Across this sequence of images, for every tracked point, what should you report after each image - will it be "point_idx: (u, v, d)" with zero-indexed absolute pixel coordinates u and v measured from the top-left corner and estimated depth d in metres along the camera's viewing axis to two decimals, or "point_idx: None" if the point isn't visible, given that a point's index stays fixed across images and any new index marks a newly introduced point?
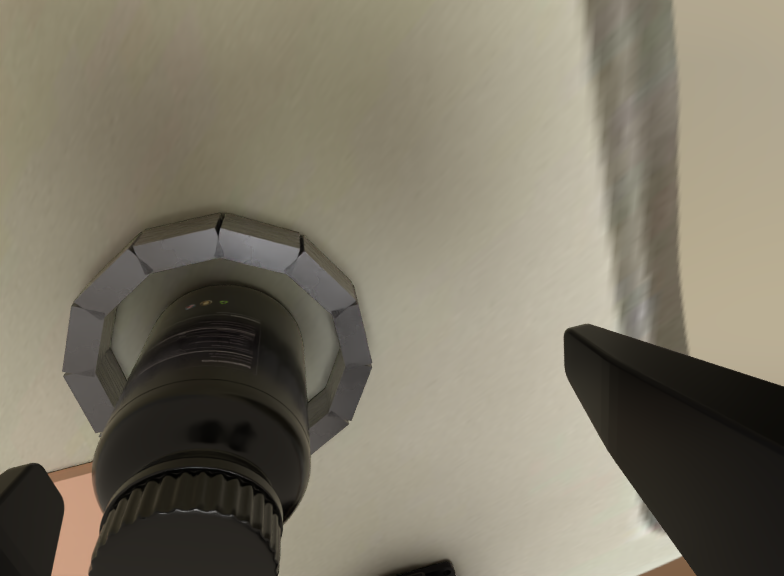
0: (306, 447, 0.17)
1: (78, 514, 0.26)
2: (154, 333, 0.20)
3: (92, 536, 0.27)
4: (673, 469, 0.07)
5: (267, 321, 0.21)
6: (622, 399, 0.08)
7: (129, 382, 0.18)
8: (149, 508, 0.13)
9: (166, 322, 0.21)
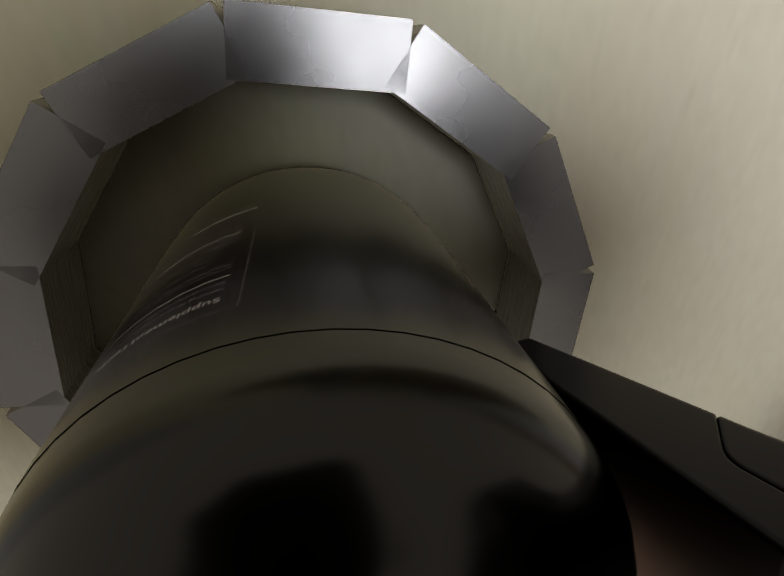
0: (529, 399, 0.05)
1: None
2: None
3: None
4: None
5: (276, 197, 0.09)
6: None
7: None
8: None
9: None
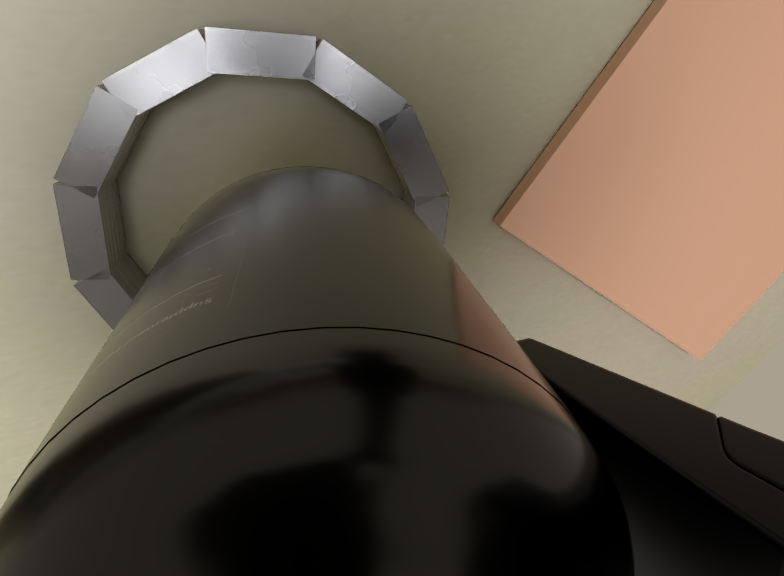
0: (522, 395, 0.05)
1: (576, 205, 0.20)
2: None
3: (604, 169, 0.20)
4: None
5: (271, 196, 0.09)
6: None
7: None
8: None
9: None
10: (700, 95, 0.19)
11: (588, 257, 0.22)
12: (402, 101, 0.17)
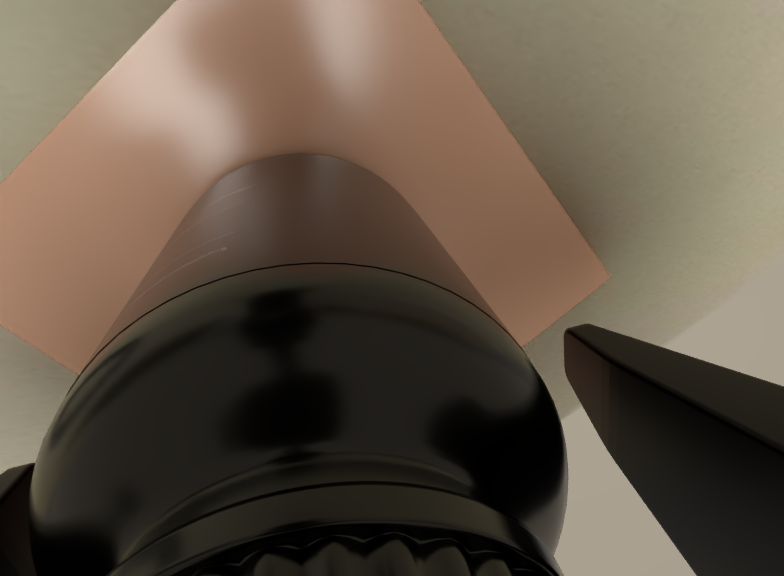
0: (471, 317, 0.06)
1: (62, 269, 0.13)
2: None
3: (106, 225, 0.13)
4: (673, 469, 0.07)
5: (273, 176, 0.10)
6: (622, 399, 0.08)
7: None
8: None
9: None
10: (266, 153, 0.13)
11: None
12: None
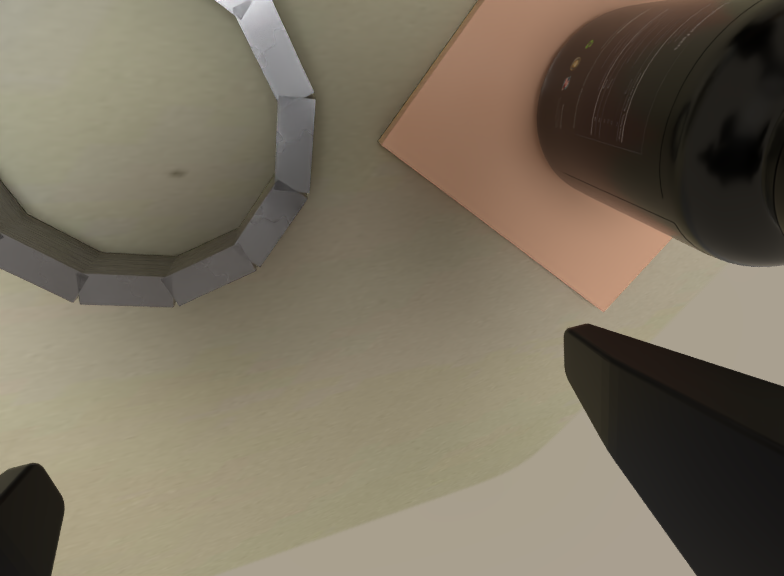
0: None
1: (463, 128, 0.20)
2: (565, 134, 0.17)
3: (492, 90, 0.19)
4: (673, 469, 0.07)
5: (651, 5, 0.16)
6: (622, 399, 0.08)
7: (618, 158, 0.15)
8: None
9: (564, 115, 0.17)
10: (592, 15, 0.19)
11: (478, 188, 0.21)
12: None
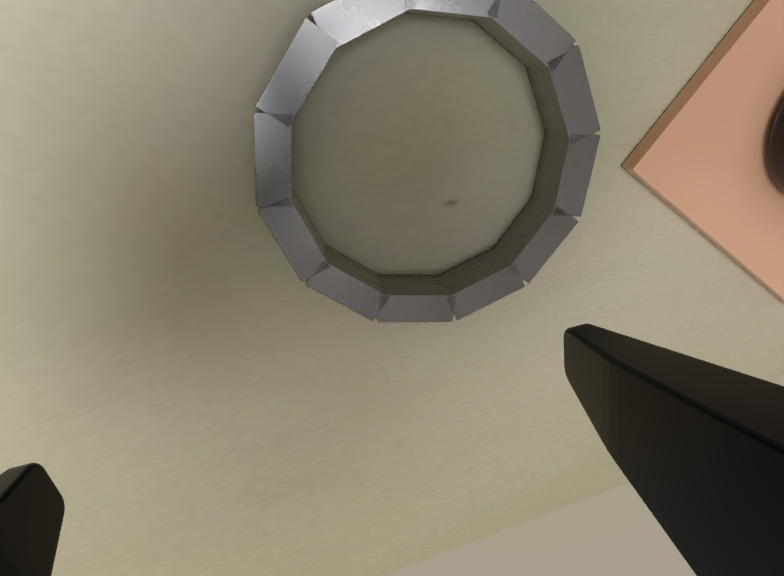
0: None
1: (703, 151, 0.22)
2: None
3: (732, 117, 0.21)
4: (673, 469, 0.07)
5: None
6: (622, 399, 0.08)
7: None
8: None
9: None
10: None
11: (707, 203, 0.23)
12: (571, 41, 0.18)
